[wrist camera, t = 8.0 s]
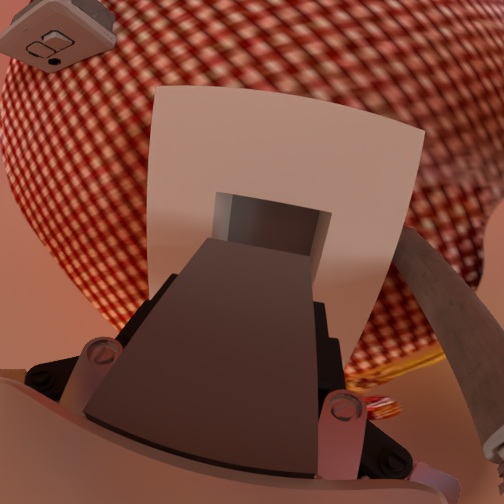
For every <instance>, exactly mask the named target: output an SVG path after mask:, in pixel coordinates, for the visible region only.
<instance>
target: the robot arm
mask: <svg viewBox="0 0 504 504" xmlns="http://www.w3.org/2000/svg"><path fill="white" fill-rule="evenodd" d="M178 275H179V274H175V273H172V274H171V275H170V276H169V278H168V279H167V280H166V281H165V283H164V284H163V285H162V286H161V288H160V289H159V290H158V291H157V293H156V294H155V295H154V296H153V298H152V299H151V300H146V301H145V302H144V303H143V304H142V305H141V306H140V307H139V309H138V310H137V311H136V313H135V314H134V315H133V316H132V318H131V319H130V320H129V321H128V323H127V324H126V325H125V327H124V328H123V329H122V330H121V332H120V333H119V334H118V336H117V337H116V338H115V339H113V338H110V337H99V338H95V339H93V340H91V341H89V342H88V343H87V344H86V345H85V347H84V348H83V350H82V352H81V354H80V356H76V357H72V358H67V359H63V360H58V361H53V362H49V363H43V364H39V365H36V366H34V367H32V368H31V369H30V370H29V371H28V372H27V371H26V370H25V369H0V504H457V502H458V499H459V497H460V493H461V486H460V483H459V482H458V480H456V479H455V478H454V477H452V476H449V475H447V474H445V473H443V472H441V471H439V470H436V469H434V468H432V467H430V466H428V465H426V464H424V463H422V462H420V461H418V462H417V463H415V462H413V460H412V457H411V455H410V453H409V452H408V451H407V450H406V449H405V448H403V447H402V446H401V445H400V444H398V443H397V442H395V441H394V440H393V439H392V438H390V437H389V436H388V435H386V434H385V433H384V432H382V431H381V430H380V429H379V428H377V427H376V426H375V425H374V424H372V423H371V422H370V421H369V420H367V419H366V418H367V406H366V403H365V401H364V400H363V399H362V398H361V396H359V395H358V394H356V393H355V392H352V391H349V390H346V387H345V379H344V371H343V364H342V356H341V349H340V343H339V339H338V338H332V337H329V333H328V325H327V317H326V309H325V303H322V302H316V301H313V305H314V319H315V335H316V354H317V379H318V474H316V475H315V476H314V477H313V478H312V479H301V478H288V477H278V476H269V475H262V474H255V473H249V472H243V471H237V470H232V469H227V468H222V467H218V466H213V465H209V464H205V463H201V462H197V461H193V460H190V459H186V458H183V457H179V456H176V455H173V454H170V453H167V452H164V451H161V450H158V449H155V448H152V447H149V446H147V445H144V444H141V443H139V442H136V441H134V440H131V439H129V438H126V437H124V436H121V435H119V434H117V433H115V432H112V431H110V430H108V429H106V428H104V427H102V426H99V425H97V424H95V423H93V422H91V421H89V420H88V419H87V418H86V416H85V414H84V413H83V409H84V408H85V406H86V404H87V403H88V401H89V400H90V398H91V397H92V395H93V394H94V392H95V391H96V389H97V388H98V386H99V385H100V383H101V382H102V380H103V379H104V377H105V376H106V374H107V373H108V371H109V370H110V368H111V367H112V365H113V364H114V363H115V361H116V360H117V358H118V357H119V355H120V354H121V352H122V351H123V350H124V348H125V347H126V345H127V344H128V342H129V341H130V340H131V338H132V337H133V335H134V334H135V333H136V331H137V330H138V328H139V327H140V326H141V324H142V323H143V322H144V320H145V319H146V317H147V316H148V315H149V313H150V312H151V311H152V309H153V308H154V307H155V305H156V304H157V302H158V301H159V300H160V298H161V297H162V296H163V294H164V293H165V292H166V290H167V289H168V288H169V286H170V285H171V284H172V283H173V281H174V280H175V279H176V277H177V276H178Z"/></svg>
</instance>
